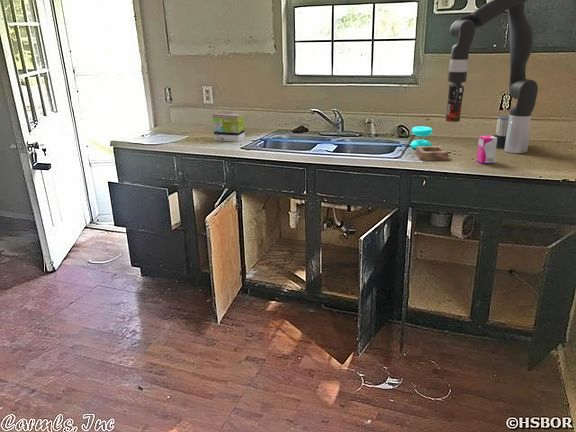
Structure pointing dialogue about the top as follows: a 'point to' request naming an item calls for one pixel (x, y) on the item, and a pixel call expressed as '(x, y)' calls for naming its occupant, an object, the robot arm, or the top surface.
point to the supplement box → (486, 149)
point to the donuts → (421, 132)
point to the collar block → (431, 153)
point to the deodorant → (450, 114)
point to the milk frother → (501, 131)
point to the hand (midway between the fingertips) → (453, 110)
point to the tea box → (229, 126)
